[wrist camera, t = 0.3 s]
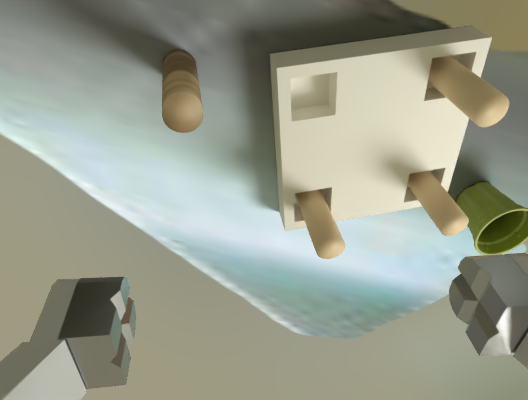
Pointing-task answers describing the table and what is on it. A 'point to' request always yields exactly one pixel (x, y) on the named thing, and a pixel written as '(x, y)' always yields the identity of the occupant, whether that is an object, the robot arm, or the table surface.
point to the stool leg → (181, 92)
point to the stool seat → (377, 128)
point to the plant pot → (493, 219)
